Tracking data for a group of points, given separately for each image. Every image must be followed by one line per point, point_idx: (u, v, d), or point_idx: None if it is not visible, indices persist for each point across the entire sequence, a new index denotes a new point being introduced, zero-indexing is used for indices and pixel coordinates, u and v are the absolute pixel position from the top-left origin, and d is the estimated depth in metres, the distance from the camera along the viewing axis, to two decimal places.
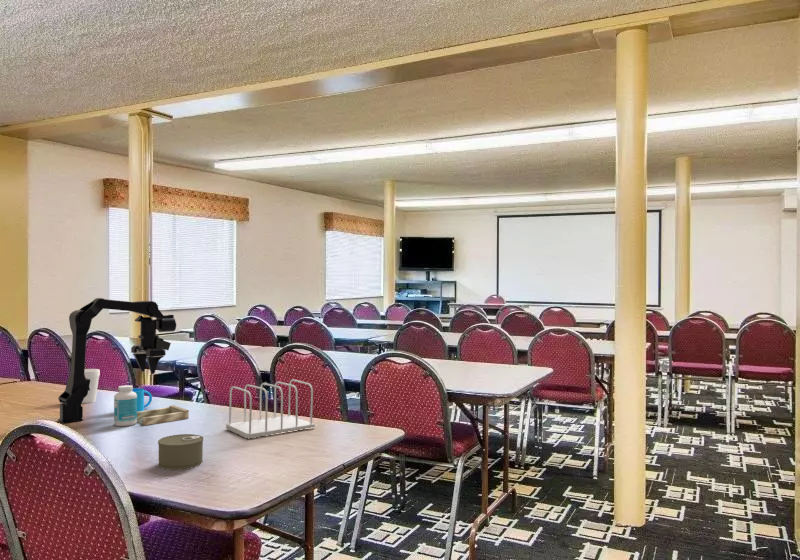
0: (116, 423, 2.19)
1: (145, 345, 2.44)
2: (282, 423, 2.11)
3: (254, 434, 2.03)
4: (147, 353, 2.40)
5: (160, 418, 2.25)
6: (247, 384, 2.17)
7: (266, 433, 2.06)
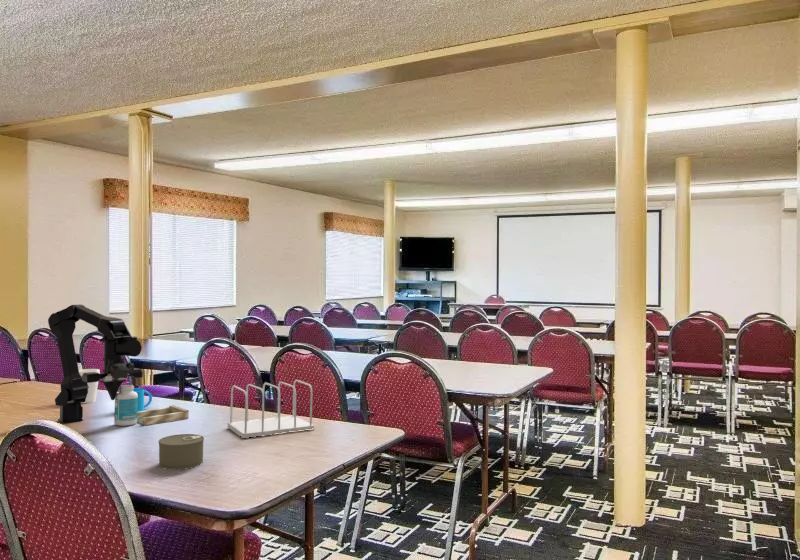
0: (116, 422, 2.19)
1: None
2: (279, 424, 2.10)
3: (249, 434, 2.04)
4: None
5: (160, 418, 2.25)
6: (248, 384, 2.18)
7: (262, 433, 2.06)
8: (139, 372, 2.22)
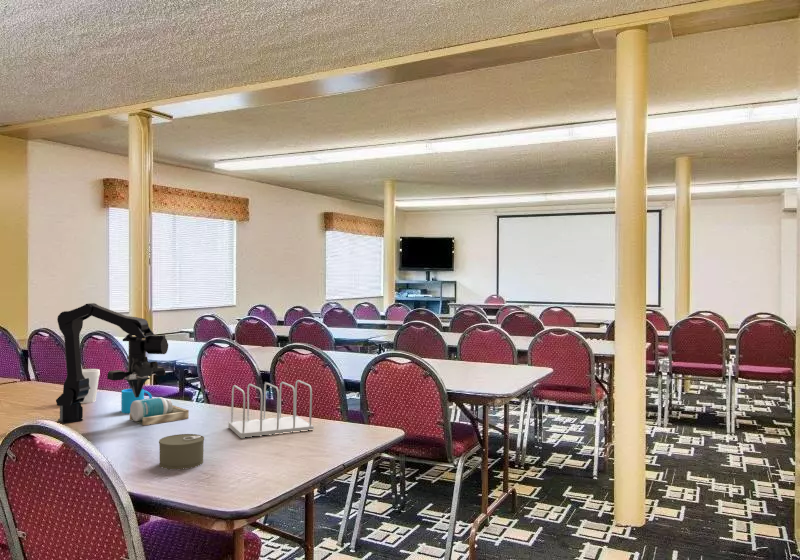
0: (136, 400, 2.26)
1: None
2: (278, 424, 2.10)
3: (247, 434, 2.04)
4: None
5: (160, 418, 2.25)
6: None
7: (260, 433, 2.06)
8: (162, 370, 2.28)
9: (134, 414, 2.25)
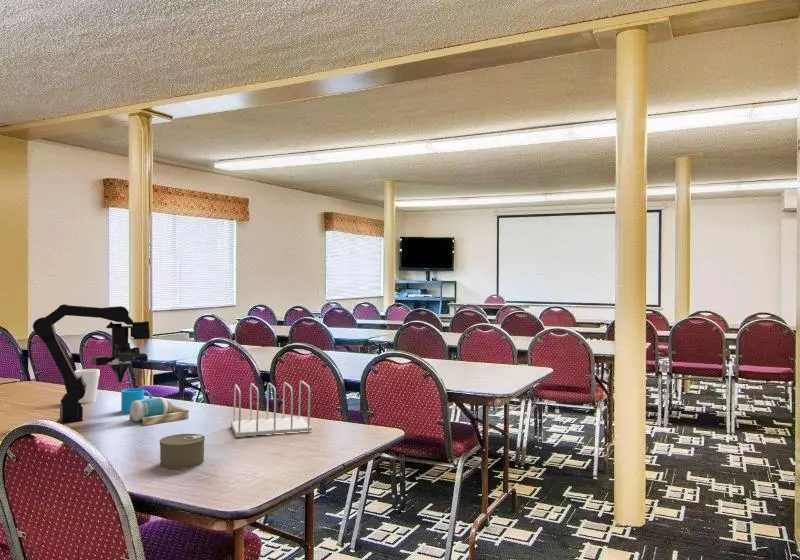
0: (137, 400, 2.26)
1: None
2: (275, 424, 2.09)
3: (243, 433, 2.05)
4: None
5: (160, 418, 2.25)
6: (251, 383, 2.20)
7: (256, 433, 2.06)
8: (144, 356, 2.37)
9: (134, 414, 2.25)
